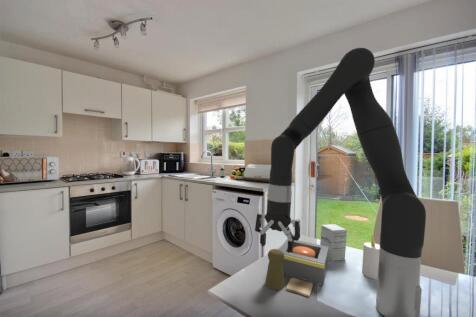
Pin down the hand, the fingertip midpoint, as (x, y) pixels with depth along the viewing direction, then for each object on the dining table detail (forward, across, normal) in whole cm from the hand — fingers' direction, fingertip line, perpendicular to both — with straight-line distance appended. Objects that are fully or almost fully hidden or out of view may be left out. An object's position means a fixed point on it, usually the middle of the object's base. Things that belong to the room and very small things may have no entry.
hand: (275, 248), depth 73 cm
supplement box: (+12, -15, -33) cm, 38 cm away
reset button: (+8, -6, -16) cm, 19 cm away
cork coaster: (+11, -8, -2) cm, 14 cm away
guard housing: (+11, -6, -16) cm, 20 cm away
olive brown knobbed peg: (+12, 0, 0) cm, 12 cm away
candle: (+11, -29, -25) cm, 40 cm away
